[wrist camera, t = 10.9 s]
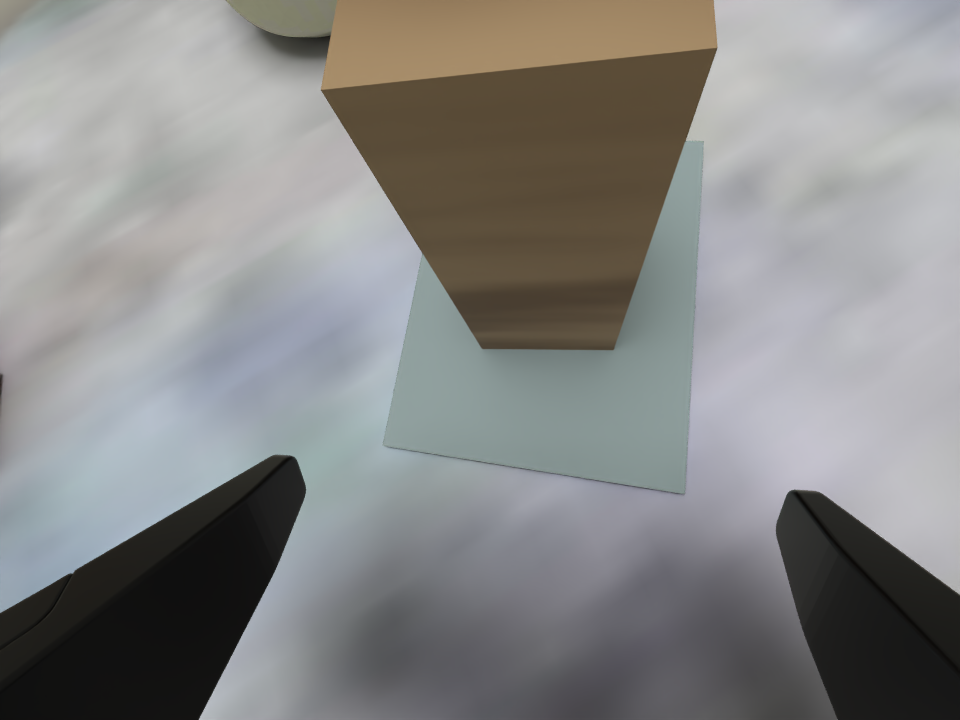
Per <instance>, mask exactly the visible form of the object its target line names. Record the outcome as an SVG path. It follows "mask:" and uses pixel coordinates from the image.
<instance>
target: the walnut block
mask: <svg viewBox="0 0 960 720" xmlns="http://www.w3.org/2000/svg"><path fill="white" fill-rule="evenodd" d="M716 51H717V36H716V25H715V13H714V1H713V0H337V5H336V10H335V16H334V21H333V27H332V32H331V37H330V43H329V48H328V54H327V59H326V65H325V70H324V76H323V81H322V86H321V91H322V93H323V94H324V96H325V97H326V99H327V101H328V102H329V104H330V105H331V107H332V109H333V110H334V112H335V113H336V115H337V117H338V118H339V120H340V121H341V123H342V125H343V126H344V128H345V129H346V131H347V133H348V134H349V136H350V138H351V139H352V141H353V142H354V144H355V146H356V147H357V149H358V150H359V152H360V154H361V155H362V157H363V158H364V160H365V162H366V163H367V165H368V166H369V168H370V170H371V171H372V173H373V175H374V176H375V178H376V179H377V181H378V183H379V184H380V186H381V187H382V189H383V191H384V192H385V194H386V195H387V197H388V199H389V200H390V202H391V203H392V205H393V207H394V208H395V210H396V211H397V213H398V215H399V216H400V218H401V220H402V221H403V223H404V224H405V226H406V228H407V229H408V231H409V232H410V234H411V236H412V237H413V239H414V240H415V242H416V244H417V245H418V247H419V248H420V250H421V252H422V253H423V255H424V257H425V258H426V260H427V261H428V263H429V265H430V266H431V268H432V269H433V271H434V273H435V274H436V276H437V277H438V279H439V281H440V282H441V284H442V285H443V287H444V289H445V290H446V292H447V293H448V295H449V297H450V298H451V300H452V302H453V303H454V305H455V306H456V308H457V310H458V311H459V313H460V314H461V316H462V318H463V319H464V321H465V322H466V324H467V326H468V327H469V329H470V330H471V332H472V334H473V335H474V337H475V338H476V340H477V342H478V343H479V345H480V347H481V348H482V349H532V350H614V348H615V345H616V342H617V339H618V336H619V333H620V330H621V327H622V324H623V321H624V318H625V315H626V313H627V310H628V307H629V304H630V301H631V298H632V295H633V292H634V289H635V286H636V283H637V281H638V278H639V275H640V272H641V269H642V266H643V263H644V260H645V257H646V254H647V251H648V249H649V246H650V243H651V240H652V237H653V234H654V231H655V228H656V225H657V222H658V219H659V216H660V214H661V211H662V208H663V205H664V202H665V199H666V196H667V193H668V190H669V187H670V184H671V182H672V179H673V176H674V173H675V170H676V167H677V164H678V161H679V158H680V155H681V152H682V150H683V147H684V144H685V141H686V138H687V135H688V132H689V129H690V126H691V123H692V120H693V117H694V115H695V112H696V109H697V106H698V103H699V100H700V97H701V94H702V91H703V88H704V85H705V83H706V80H707V77H708V74H709V71H710V68H711V65H712V62H713V59H714V56H715V53H716Z"/></svg>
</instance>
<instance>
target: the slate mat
mask: <svg viewBox="0 0 960 720" xmlns="http://www.w3.org/2000/svg"><path fill="white" fill-rule="evenodd" d="M703 145H704V141H685V144H684V147H683V150H682V152H681V155H680V158H679V161H678V164H677V167H676V170H675V173H674V176H673V179H672V182H671V184H670V187H669V190H668V193H667V196H666V199H665V202H664V205H663V208H662V211H661V214H660V216H659V219H658V222H657V225H656V228H655V231H654V234H653V237H652V240H651V243H650V246H649V249H648V251H647V254H646V257H645V260H644V263H643V266H642V269H641V272H640V275H639V278H638V281H637V283H636V286H635V289H634V292H633V295H632V298H631V301H630V304H629V307H628V310H627V313H626V315H625V318H624V321H623V324H622V327H621V330H620V333H619V336H618V339H617V342H616V345H615V348H614V350H532V349H482V348H481V347H480V345H479V343H478V342H477V340H476V338H475V337H474V335H473V334H472V332H471V330H470V329H469V327H468V326H467V324H466V322H465V321H464V319H463V318H462V316H461V314H460V313H459V311H458V310H457V308H456V306H455V305H454V303H453V302H452V300H451V298H450V297H449V295H448V293H447V292H446V290H445V289H444V287H443V285H442V284H441V282H440V281H439V279H438V277H437V276H436V274H435V273H434V271H433V269H432V268H431V266H430V265H429V263H428V261H427V260H426V258H425V257H424V255H423V253H422V257H421V262H420V267H419V272H418V277H417V281H416V286H415V291H414V296H413V301H412V306H411V310H410V315H409V320H408V325H407V330H406V334H405V339H404V344H403V349H402V354H401V359H400V363H399V368H398V373H397V378H396V383H395V388H394V392H393V397H392V402H391V407H390V412H389V417H388V421H387V426H386V431H385V436H384V441H383V445H382V446H387V447H393V448H399V449H405V450H411V451H418V452H424V453H430V454H436V455H443V456H449V457H455V458H461V459H468V460H474V461H480V462H486V463H493V464H499V465H505V466H511V467H517V468H524V469H530V470H536V471H542V472H549V473H555V474H561V475H567V476H574V477H580V478H586V479H592V480H598V481H605V482H611V483H617V484H623V485H630V486H636V487H642V488H648V489H655V490H661V491H667V492H673V493H679V494H685V482H686V463H687V444H688V426H689V407H690V388H691V369H692V351H693V332H694V313H695V295H696V276H697V257H698V238H699V220H700V201H701V182H702V164H703Z"/></svg>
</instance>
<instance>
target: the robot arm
mask: <svg viewBox="0 0 960 720" xmlns="http://www.w3.org/2000/svg"><path fill="white" fill-rule="evenodd" d="M305 494H306V485H305V482H304V479H303V476H302V473H301V470H300V467H299V465H298V462H297V460H296V458H295V457H293V456H290V455H273V456H271V457H269V458H267V459H265V460H264V461H262V462H260V463H259V464H257V465H255V466H253V467H252V468H250V469H248V470H247V471H245V472H243V473H241V474H240V475H238V476H236V477H235V478H233V479H231V480H229V481H228V482H226V483H224V484H223V485H221V486H219V487H217V488H216V489H214V490H212V491H211V492H209V493H207V494H205V495H204V496H202V497H200V498H198V499H197V500H195V501H193V502H192V503H190V504H188V505H186V506H185V507H183V508H181V509H180V510H178V511H176V512H174V513H173V514H171V515H169V516H168V517H166V518H164V519H162V520H161V521H159V522H157V523H156V524H154V525H152V526H150V527H149V528H147V529H145V530H143V531H142V532H140V533H138V534H137V535H135V536H133V537H131V538H130V539H128V540H126V541H125V542H123V543H121V544H119V545H118V546H116V547H114V548H113V549H111V550H109V551H107V552H106V553H104V554H102V555H101V556H99V557H97V558H95V559H94V560H92V561H90V562H89V563H87V564H85V565H83V566H82V567H80V568H78V569H77V570H75V571H74V573H73V574H68V575H66V576H64V577H63V578H61V579H59V580H57V581H56V582H54V583H52V584H51V585H49V586H47V587H46V588H44V589H42V590H40V591H39V592H37V593H35V594H33V595H31V596H30V597H28V598H26V599H24V600H23V601H21V602H19V603H17V604H16V605H14V606H12V607H10V608H9V609H7V610H5V611H3V612H1V613H0V720H199V718H200V716H201V714H202V712H203V710H204V708H205V706H206V704H207V702H208V700H209V699H210V697H211V695H212V693H213V691H214V689H215V687H216V685H217V683H218V681H219V679H220V677H221V675H222V673H223V671H224V669H225V667H226V666H227V664H228V662H229V660H230V658H231V656H232V654H233V652H234V650H235V648H236V646H237V644H238V642H239V640H240V638H241V636H242V634H243V632H244V631H245V629H246V627H247V625H248V623H249V621H250V619H251V617H252V615H253V613H254V611H255V609H256V607H257V605H258V603H259V601H260V599H261V597H262V596H263V594H264V592H265V590H266V588H267V586H268V584H269V582H270V580H271V578H272V576H273V574H274V572H275V570H276V568H277V565H278V563H279V561H280V558H281V556H282V553H283V551H284V548H285V546H286V543H287V541H288V538H289V536H290V533H291V531H292V528H293V526H294V523H295V521H296V518H297V516H298V513H299V511H300V508H301V506H302V503H303V501H304V498H305ZM776 536H777V540H778V544H779V547H780V551H781V555H782V558H783V562H784V565H785V569H786V573H787V576H788V580H789V584H790V587H791V591H792V595H793V598H794V602H795V605H796V609H797V613H798V616H799V619H800V623H801V626H802V629H803V632H804V635H805V637H806V640H807V643H808V646H809V648H810V651H811V653H812V656H813V658H814V661H815V663H816V666H817V668H818V671H819V674H820V676H821V679H822V681H823V684H824V686H825V689H826V691H827V694H828V696H829V699H830V701H831V704H832V706H833V709H834V711H835V714H836V717H837V719H838V720H960V595H959V594H958V593H957V592H955V591H954V590H952V589H951V588H950V587H948V586H947V585H946V584H944V583H943V582H942V581H940V580H939V579H938V578H936V577H935V576H933V575H932V574H931V573H929V572H928V571H927V570H925V569H924V568H923V567H921V566H920V565H919V564H917V563H916V562H914V561H913V560H912V559H910V558H909V557H908V556H906V555H905V554H904V553H902V552H901V551H899V550H898V549H897V548H895V547H894V546H893V545H891V544H890V543H889V542H887V541H886V540H885V539H883V538H882V537H880V536H879V535H878V534H876V533H875V532H874V531H872V530H871V529H870V528H868V527H867V526H866V525H864V524H863V523H861V522H860V521H859V520H857V519H856V518H855V517H853V516H852V515H851V514H849V513H848V512H846V511H845V510H844V509H842V508H841V507H840V506H838V505H837V504H836V503H834V502H833V501H832V500H830V499H829V498H827V497H826V496H825V495H823V494H822V493H820V492H817V491H808V490H791V491H789V492H788V494H787V496H786V498H785V501H784V504H783V506H782V509H781V512H780V515H779V518H778V520H777V524H776Z"/></svg>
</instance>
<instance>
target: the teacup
mask: <svg viewBox="0 0 960 720" xmlns="http://www.w3.org/2000/svg"><path fill="white" fill-rule="evenodd" d="M226 1H227V2H228V3H229V4H230V5H231V6H232V7H233V8H234V9H235V10H236V11H237V12H238V13H239V14H240V15H241V16H243V17H244V18H245V19H246V20H248V21H249V22H251V23H252V24H254V25H255V26H257V27H259V28H261V29H263V30H266V31H268V32H270V33H273V34H277V35H282V36H289V37H311V38H312V37H324V36H329V35H331V32H332V27H333V21H334V16H335V10H336V5H337V0H226Z"/></svg>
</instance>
